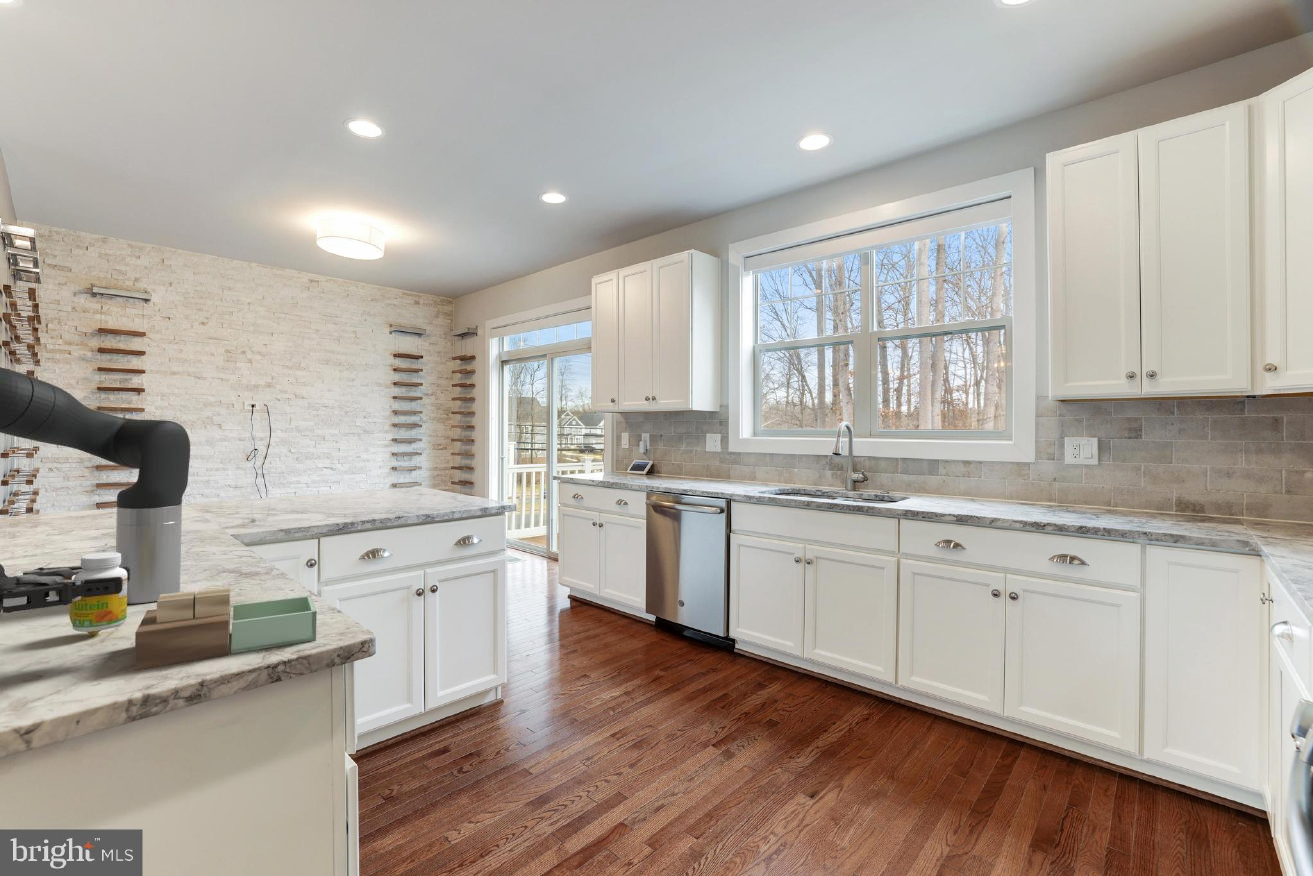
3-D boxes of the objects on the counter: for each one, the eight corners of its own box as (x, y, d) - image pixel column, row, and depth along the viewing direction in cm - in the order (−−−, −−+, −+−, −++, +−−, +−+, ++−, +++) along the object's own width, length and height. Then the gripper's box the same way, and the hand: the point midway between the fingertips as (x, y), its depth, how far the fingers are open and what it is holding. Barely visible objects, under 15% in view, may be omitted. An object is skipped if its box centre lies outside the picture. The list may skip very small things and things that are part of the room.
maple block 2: (196, 610, 87) (197, 590, 87) (229, 606, 90) (230, 587, 89) (194, 618, 84) (195, 597, 84) (229, 613, 86) (229, 593, 86)
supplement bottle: (63, 634, 76) (64, 560, 76) (84, 621, 81) (85, 552, 81) (116, 630, 78) (117, 558, 78) (133, 617, 83) (134, 550, 83)
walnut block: (146, 643, 87) (147, 610, 87) (229, 632, 92) (230, 600, 92) (134, 669, 78) (135, 632, 78) (227, 655, 83) (228, 620, 83)
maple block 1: (160, 615, 85) (160, 594, 85) (195, 610, 87) (195, 590, 87) (156, 622, 82) (156, 601, 81) (192, 618, 84) (193, 597, 84)
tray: (232, 632, 92) (233, 604, 92) (310, 621, 98) (311, 595, 98) (231, 653, 84) (231, 622, 84) (315, 640, 90) (316, 611, 90)
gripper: (-86, 579, 66) (117, 563, 75) (-35, 554, 77) (135, 543, 87) (-87, 645, 66) (116, 621, 75) (-36, 610, 77) (134, 593, 87)
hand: (125, 579), depth 81 cm, fingers closed on supplement bottle, 5 cm apart
